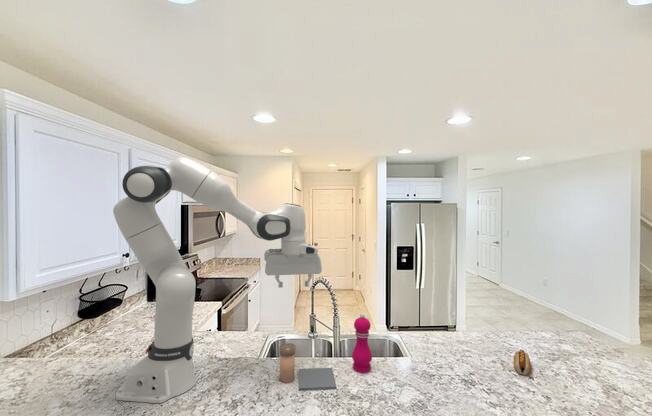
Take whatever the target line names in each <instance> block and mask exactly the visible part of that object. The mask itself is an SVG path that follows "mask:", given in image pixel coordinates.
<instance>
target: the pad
mask: <svg viewBox="0 0 652 416" xmlns="http://www.w3.org/2000/svg"><path fill="white" fill-rule="evenodd" d="M336 389H337V384H336V378H335V374H334V370H333V367H316V368H315V367H314V368H311V367H310V368H298V391H300V392H302V391H321V390H324V391H326V390H336Z"/></svg>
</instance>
